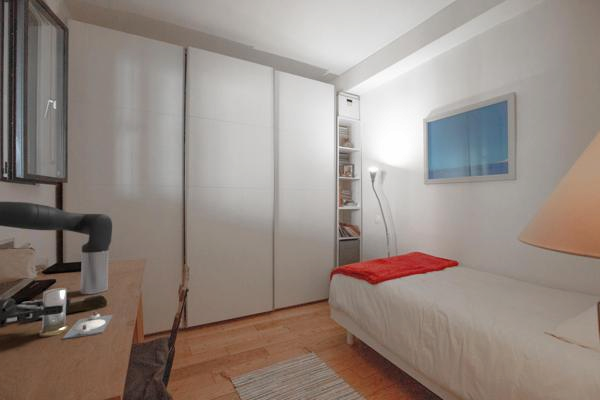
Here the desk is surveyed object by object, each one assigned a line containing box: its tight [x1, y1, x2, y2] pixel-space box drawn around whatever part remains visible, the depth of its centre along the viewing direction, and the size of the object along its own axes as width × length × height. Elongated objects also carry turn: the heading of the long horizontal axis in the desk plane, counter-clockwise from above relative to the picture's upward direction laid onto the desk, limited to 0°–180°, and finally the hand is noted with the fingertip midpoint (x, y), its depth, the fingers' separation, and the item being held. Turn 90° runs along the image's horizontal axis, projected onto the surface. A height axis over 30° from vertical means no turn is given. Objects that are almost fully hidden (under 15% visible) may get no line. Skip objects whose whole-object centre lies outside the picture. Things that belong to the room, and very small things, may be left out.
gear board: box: [62, 311, 114, 340], centre depth 80 cm, size 13×9×2 cm
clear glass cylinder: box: [39, 287, 69, 338], centre depth 77 cm, size 6×6×12 cm
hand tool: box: [33, 294, 108, 322], centre depth 90 cm, size 19×4×5 cm, turn 127°
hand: (66, 305), depth 78 cm, fingers closed on clear glass cylinder, 5 cm apart
